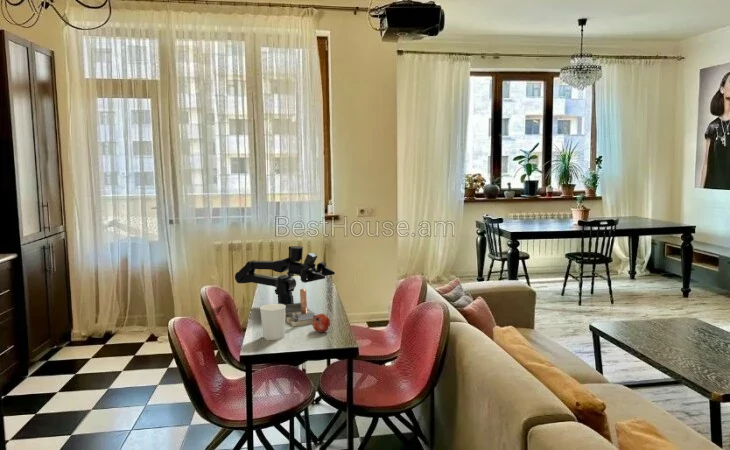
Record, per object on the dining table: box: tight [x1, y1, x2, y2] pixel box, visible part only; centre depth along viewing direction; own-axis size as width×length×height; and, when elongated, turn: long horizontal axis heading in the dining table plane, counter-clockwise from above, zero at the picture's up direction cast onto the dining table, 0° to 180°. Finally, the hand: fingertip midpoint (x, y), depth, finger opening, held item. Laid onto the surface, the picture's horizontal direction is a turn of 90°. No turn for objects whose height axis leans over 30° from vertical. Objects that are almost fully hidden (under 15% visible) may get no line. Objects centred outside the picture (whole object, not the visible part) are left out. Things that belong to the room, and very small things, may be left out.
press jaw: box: [295, 288, 314, 321], centre depth 215 cm, size 4×7×13 cm, turn 114°
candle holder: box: [259, 303, 286, 341], centre depth 198 cm, size 10×10×12 cm
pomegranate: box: [311, 313, 331, 333], centre depth 203 cm, size 7×7×10 cm
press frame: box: [285, 302, 318, 327], centre depth 222 cm, size 18×12×4 cm, turn 24°
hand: (329, 275), depth 233 cm, fingers open, 9 cm apart
